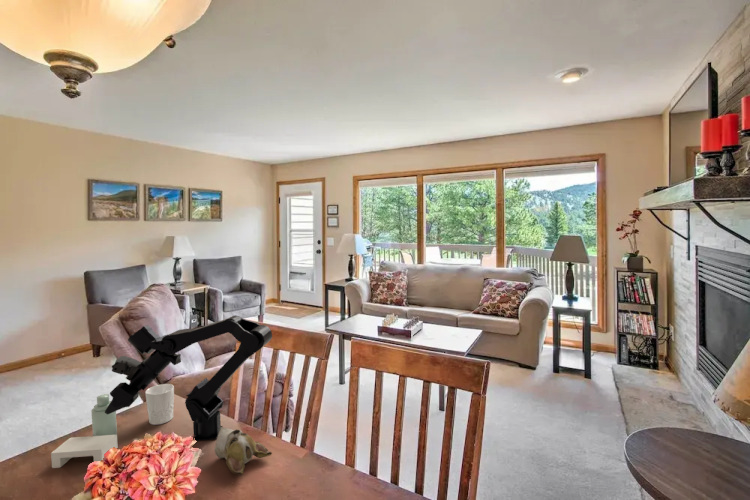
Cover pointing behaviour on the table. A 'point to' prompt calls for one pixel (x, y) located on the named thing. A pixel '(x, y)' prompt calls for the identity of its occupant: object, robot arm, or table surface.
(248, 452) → the ceramic sculpture
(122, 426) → the table surface
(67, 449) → the shelf
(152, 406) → the white cup
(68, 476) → the table surface
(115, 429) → the sage spray can
